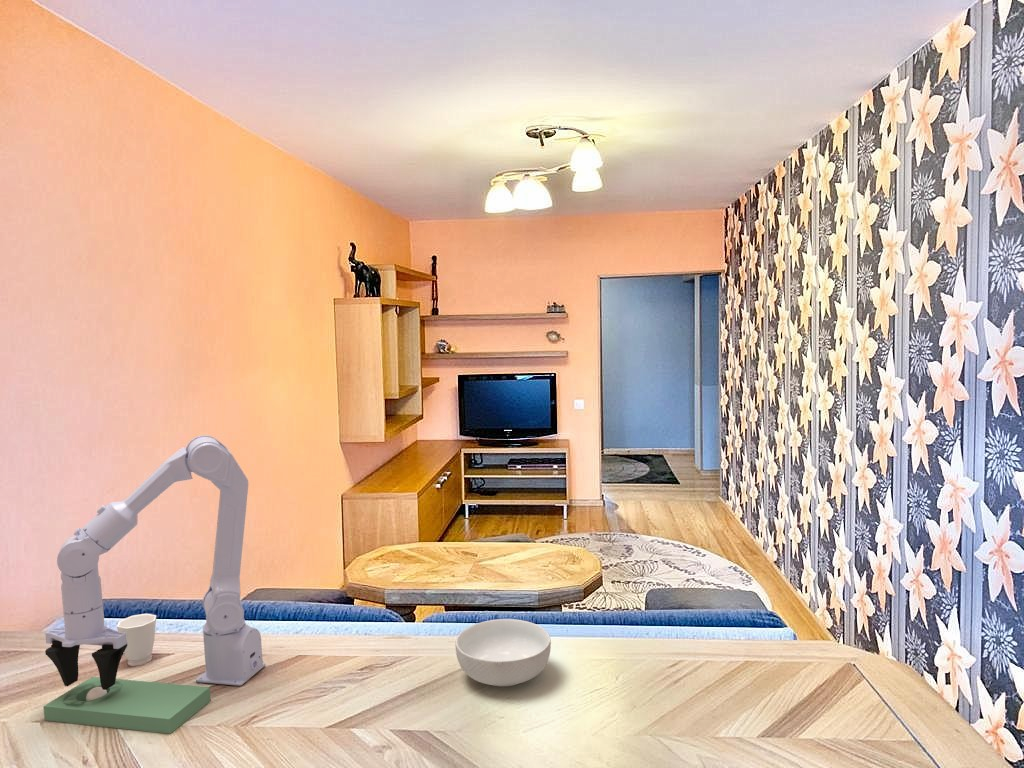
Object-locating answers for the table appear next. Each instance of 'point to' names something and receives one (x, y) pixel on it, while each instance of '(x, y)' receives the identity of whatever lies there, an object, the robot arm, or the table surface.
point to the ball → (95, 693)
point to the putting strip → (130, 705)
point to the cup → (138, 637)
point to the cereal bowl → (503, 651)
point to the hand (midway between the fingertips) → (89, 685)
